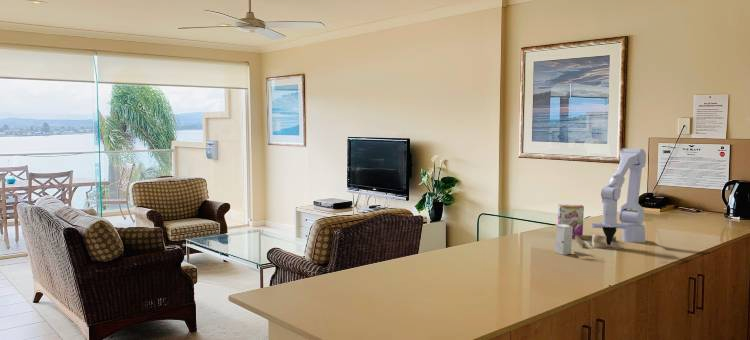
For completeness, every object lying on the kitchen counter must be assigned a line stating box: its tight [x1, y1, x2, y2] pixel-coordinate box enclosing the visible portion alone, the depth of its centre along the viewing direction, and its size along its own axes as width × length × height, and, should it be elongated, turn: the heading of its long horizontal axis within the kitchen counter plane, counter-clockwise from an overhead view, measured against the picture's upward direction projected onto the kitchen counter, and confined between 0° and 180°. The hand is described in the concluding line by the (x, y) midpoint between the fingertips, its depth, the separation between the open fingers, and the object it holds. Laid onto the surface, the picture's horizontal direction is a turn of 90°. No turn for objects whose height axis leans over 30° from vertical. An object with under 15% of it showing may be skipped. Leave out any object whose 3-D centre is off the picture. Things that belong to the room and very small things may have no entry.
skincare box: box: [554, 224, 573, 256], centre depth 251 cm, size 6×4×12 cm
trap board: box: [574, 234, 626, 251], centre depth 265 cm, size 18×20×3 cm
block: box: [591, 233, 607, 248], centre depth 260 cm, size 5×5×5 cm
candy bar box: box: [557, 203, 585, 238], centre depth 284 cm, size 11×5×16 cm, turn 84°
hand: (608, 244), depth 260 cm, fingers closed
